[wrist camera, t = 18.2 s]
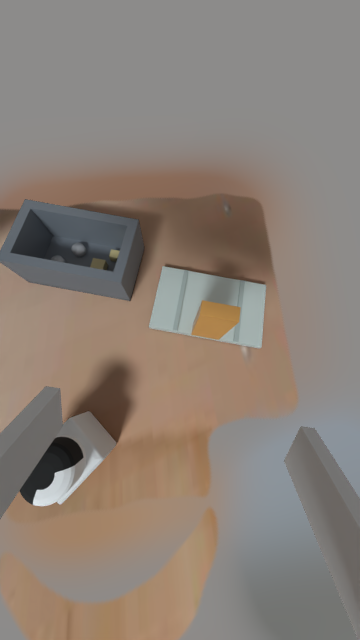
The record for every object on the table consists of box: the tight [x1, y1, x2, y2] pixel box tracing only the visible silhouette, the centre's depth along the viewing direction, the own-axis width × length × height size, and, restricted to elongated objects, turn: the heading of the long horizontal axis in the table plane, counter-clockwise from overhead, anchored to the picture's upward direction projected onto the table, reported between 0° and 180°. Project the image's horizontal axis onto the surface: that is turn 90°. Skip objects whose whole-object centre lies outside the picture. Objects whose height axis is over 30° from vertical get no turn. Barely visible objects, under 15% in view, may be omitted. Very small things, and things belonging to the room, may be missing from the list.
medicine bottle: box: [20, 411, 116, 506], centre depth 28 cm, size 7×7×12 cm
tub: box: [0, 199, 144, 301], centre depth 39 cm, size 20×12×8 cm, turn 80°
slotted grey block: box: [149, 266, 266, 348], centre depth 35 cm, size 20×12×14 cm, turn 80°
